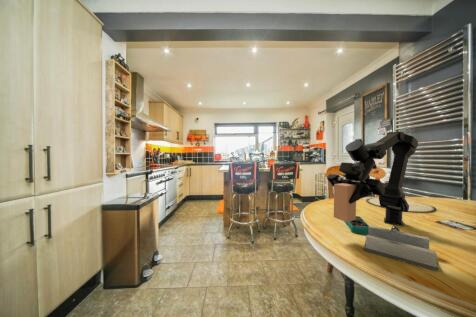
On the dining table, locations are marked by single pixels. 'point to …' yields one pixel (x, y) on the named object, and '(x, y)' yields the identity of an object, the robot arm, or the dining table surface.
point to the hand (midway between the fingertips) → (342, 201)
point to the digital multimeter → (358, 226)
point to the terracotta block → (344, 202)
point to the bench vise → (401, 246)
